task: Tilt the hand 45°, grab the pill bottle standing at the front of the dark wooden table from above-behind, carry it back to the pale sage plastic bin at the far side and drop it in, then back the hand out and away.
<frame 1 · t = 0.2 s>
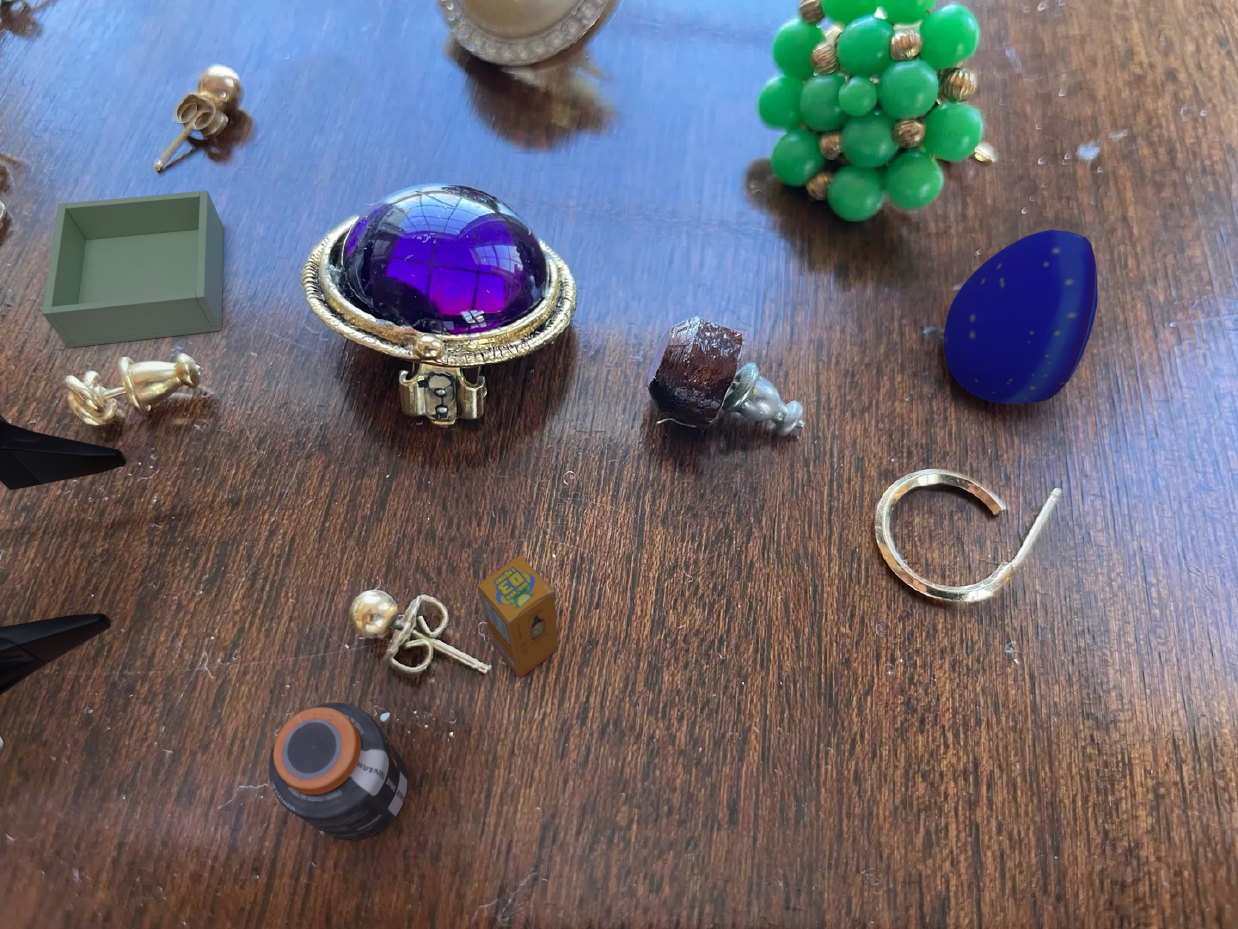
hand: (116, 534, 44), 14 cm above the table, tool horizontal, fingers open, 9 cm apart
pill bottle: (359, 789, 53), on the table
bin: (150, 284, 71), on the table
ornament: (979, 375, 72), on the table
supplement box: (523, 646, 58), on the table
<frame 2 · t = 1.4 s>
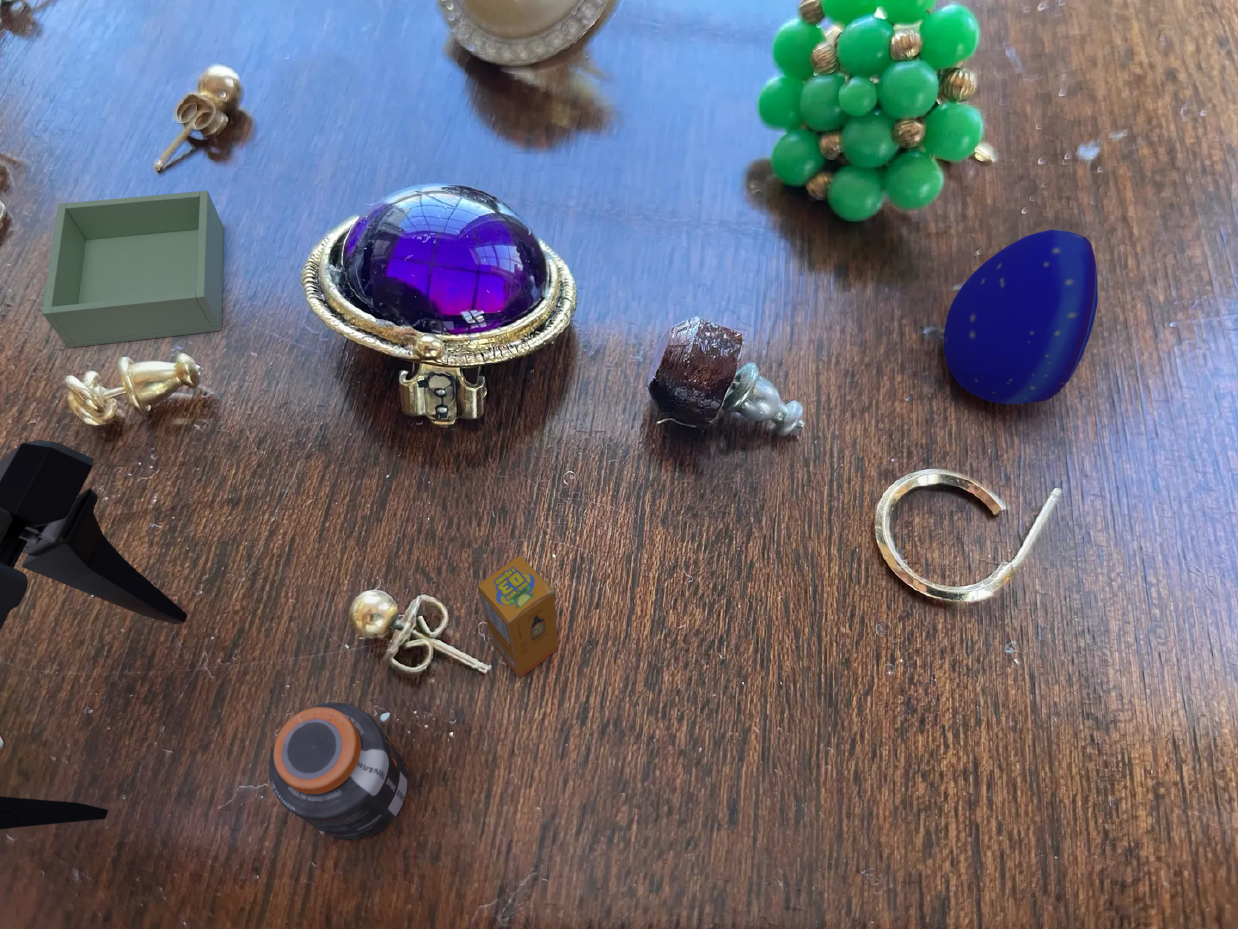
hand: (145, 712, 41), 13 cm above the table, tool tilted 45°, fingers open, 9 cm apart
nothing on the table moved.
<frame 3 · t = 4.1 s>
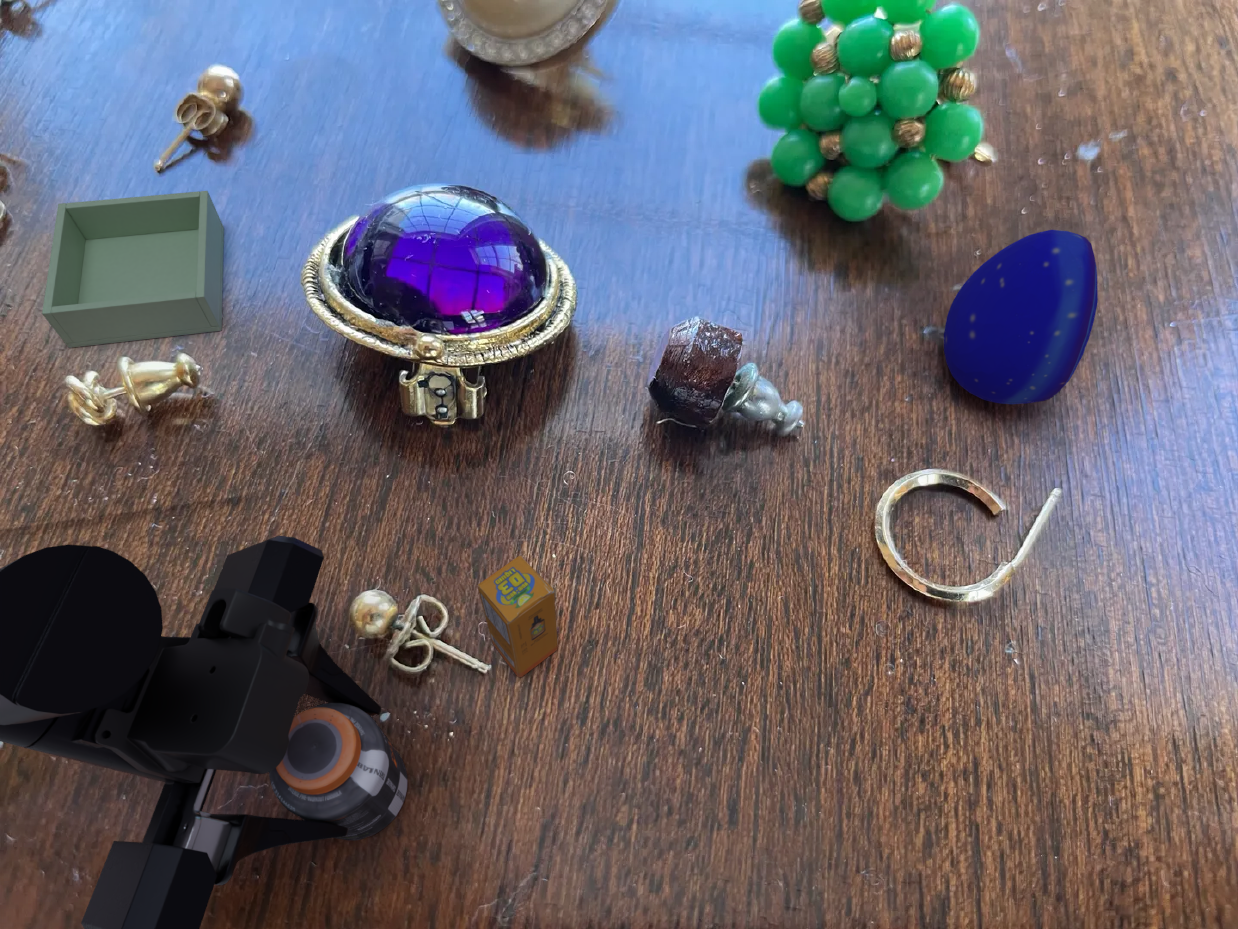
hand: (360, 770, 47), 7 cm above the table, tool tilted 45°, fingers closed on pill bottle, 6 cm apart
pill bottle: (359, 789, 53), on the table, touching gripper
everything else where it was.
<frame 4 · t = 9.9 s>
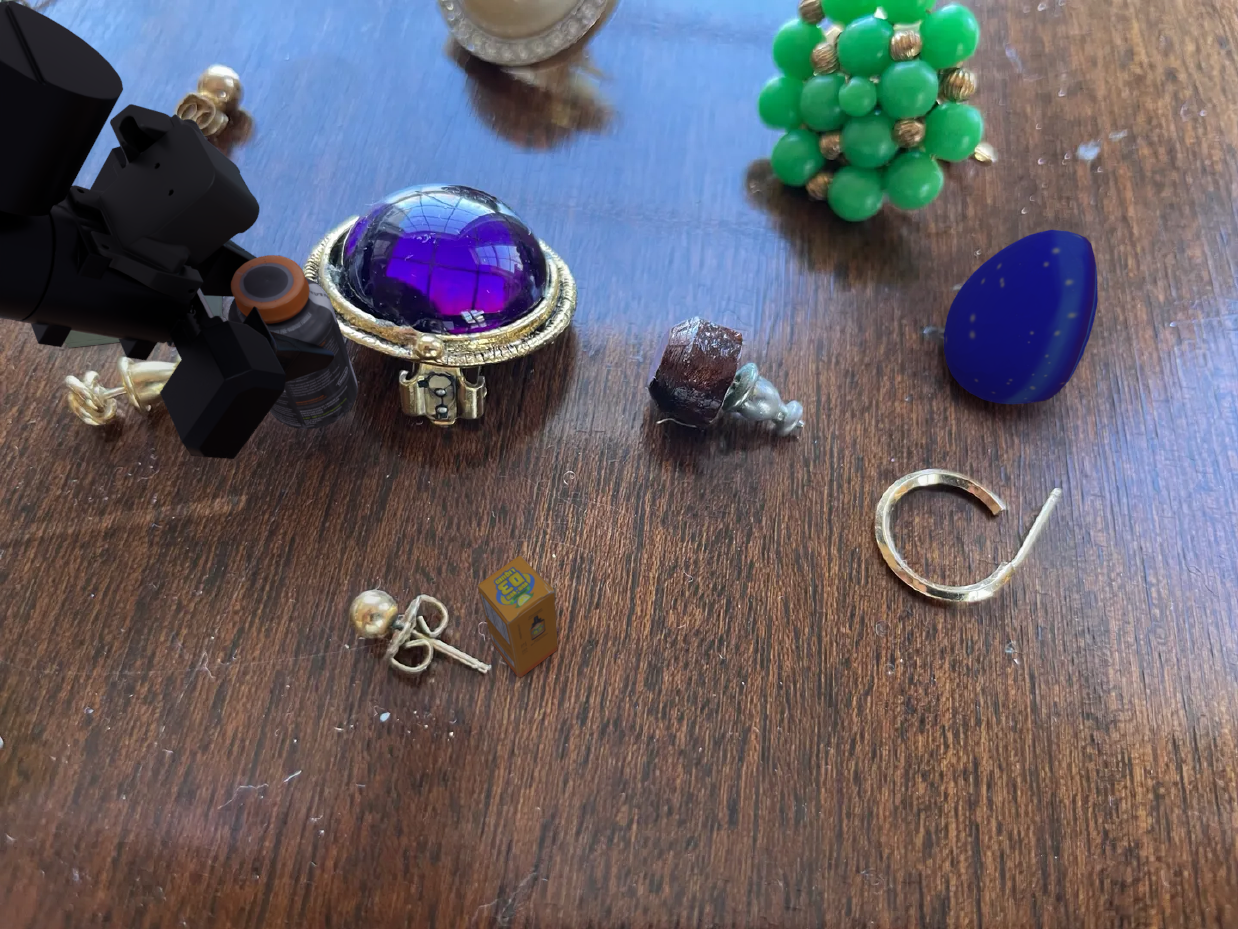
hand: (310, 324, 53), 13 cm above the table, tool tilted 45°, fingers closed on pill bottle, 6 cm apart
pill bottle: (313, 396, 59), point 6 cm above the table, touching gripper
everything else where it was.
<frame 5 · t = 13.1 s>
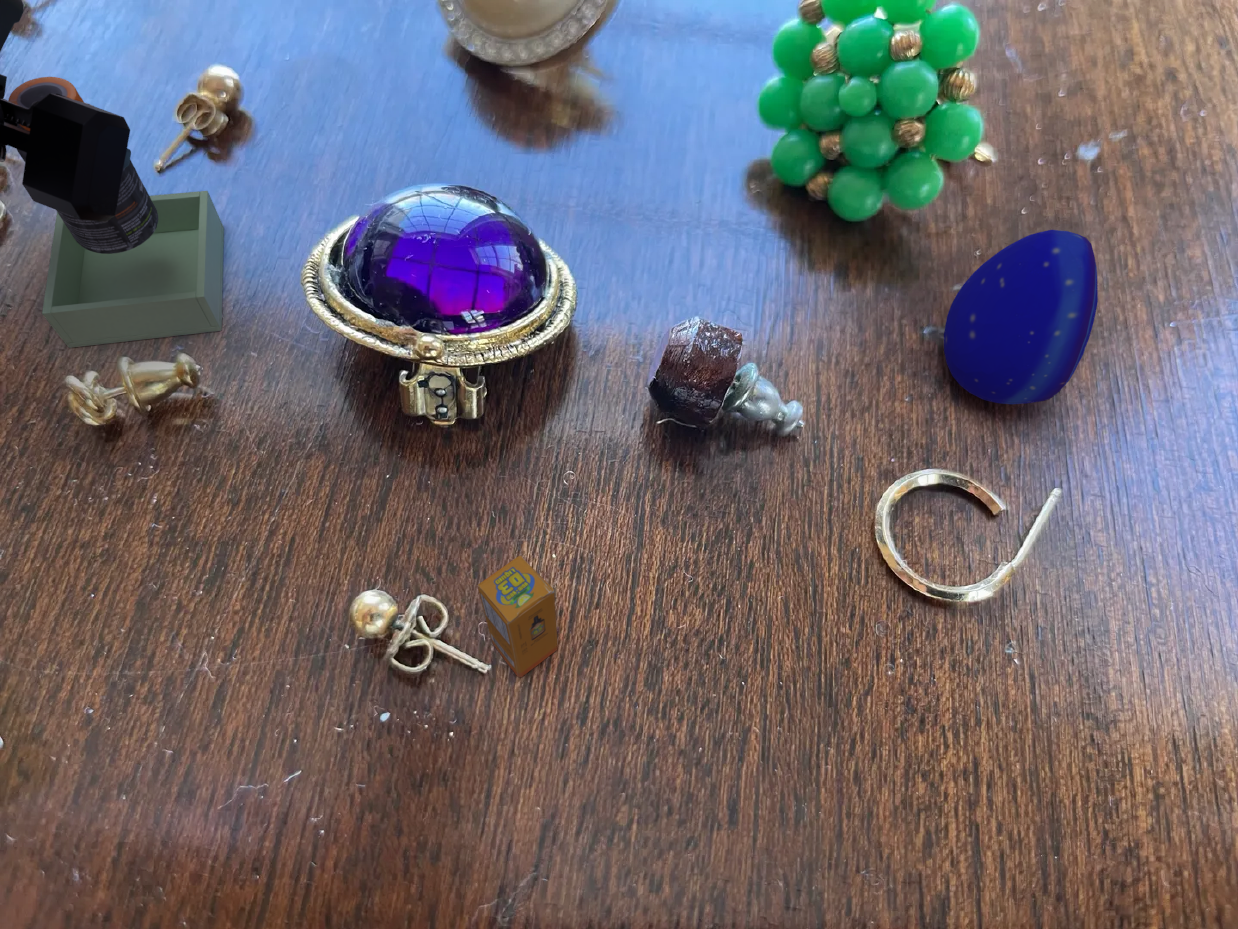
hand: (89, 142, 60), 13 cm above the table, tool tilted 45°, fingers closed on pill bottle, 6 cm apart
pill bottle: (118, 229, 65), point 6 cm above the table, touching gripper
everything else where it was.
when the fingers open (7 cm above the table, at t = 15.8 s): pill bottle stays where it is, resting on bin.
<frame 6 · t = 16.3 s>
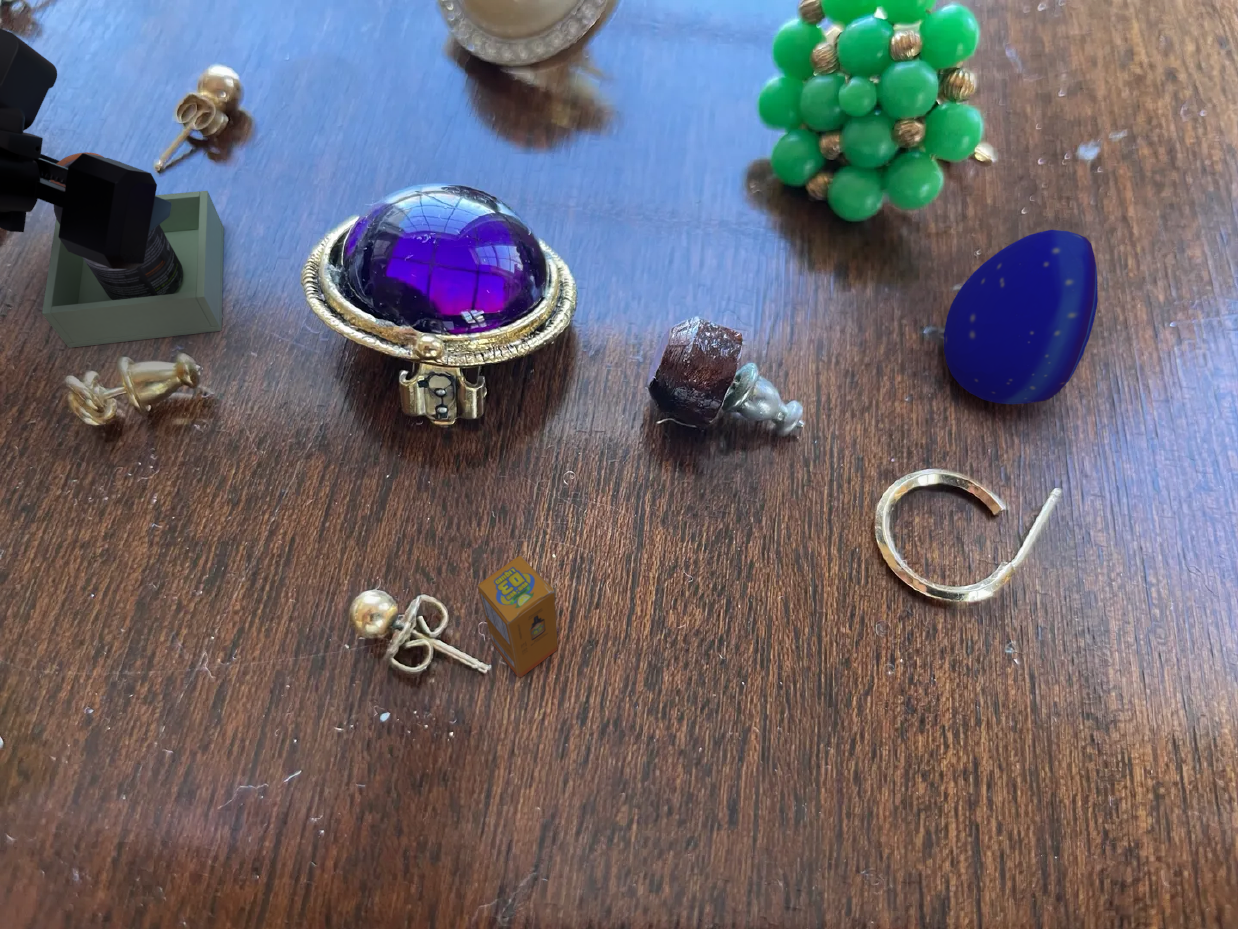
hand: (114, 188, 64), 9 cm above the table, tool tilted 45°, fingers open, 9 cm apart
pill bottle: (146, 283, 70), resting on bin
everything else where it was.
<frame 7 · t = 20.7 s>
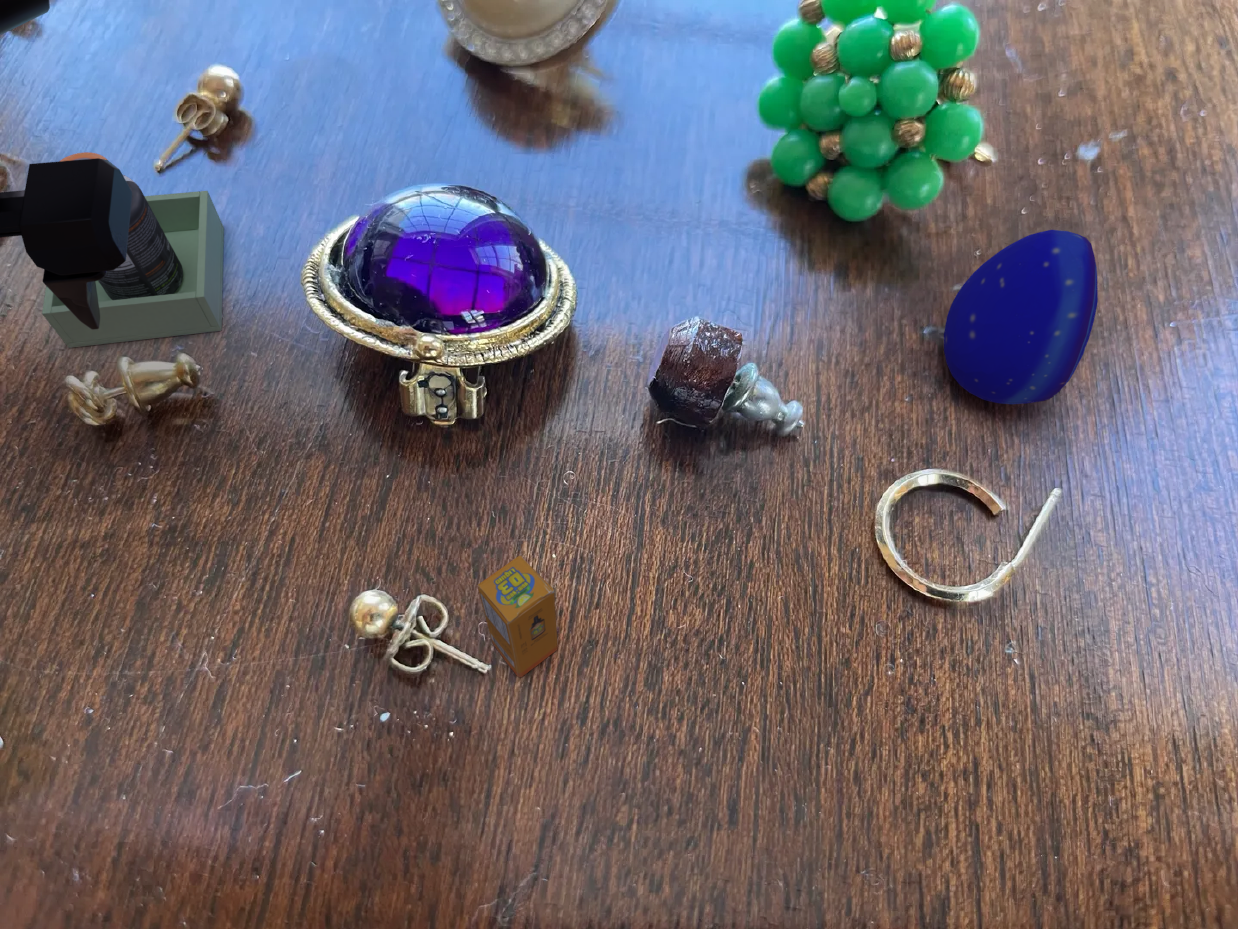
hand: (13, 332, 52), 13 cm above the table, tool pointing down, fingers open, 9 cm apart
nothing on the table moved.
at the end: pill bottle inside the target area in the bin (0.2 cm from its centre), point 0.4 cm above the bin's base; the gripper is holding nothing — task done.
